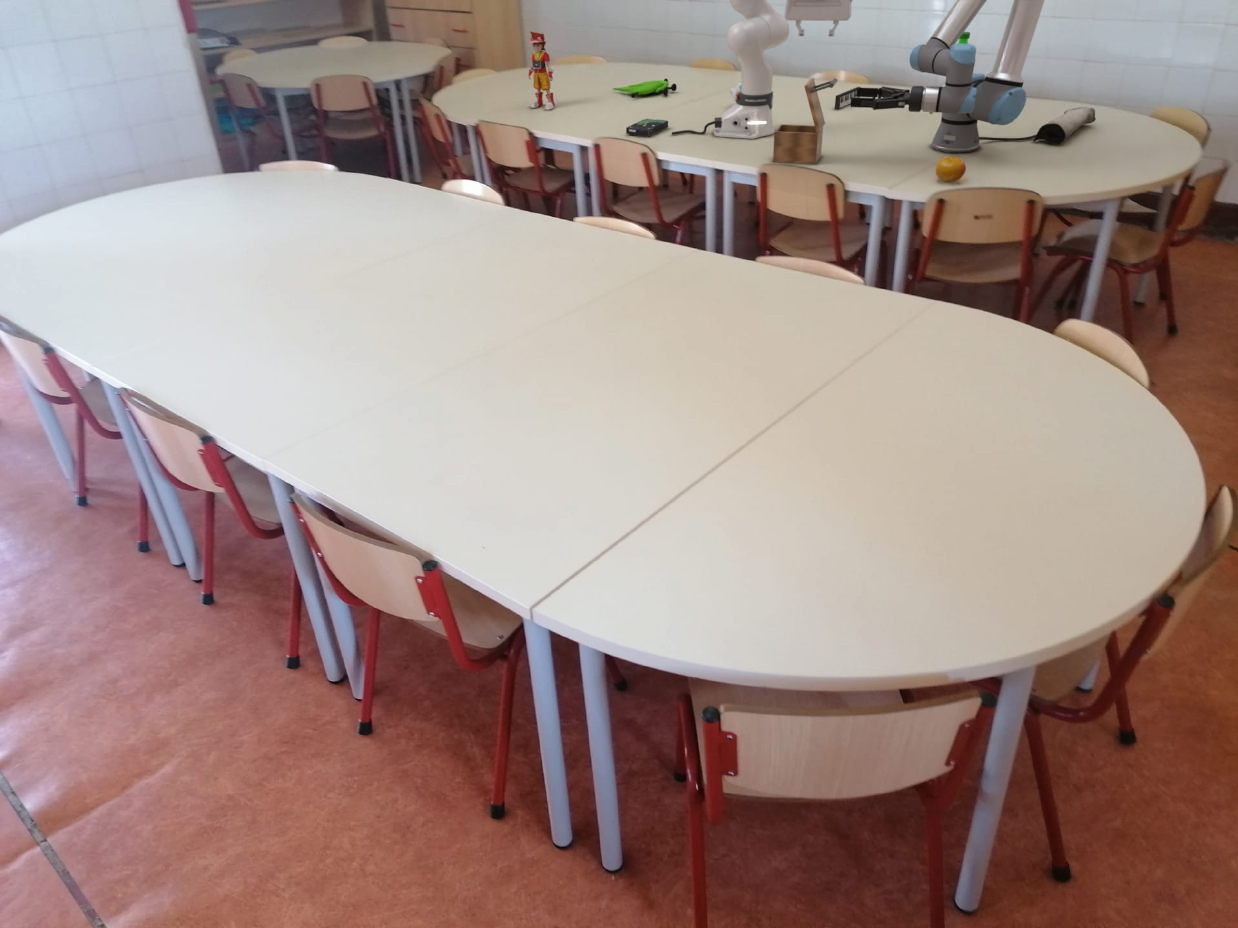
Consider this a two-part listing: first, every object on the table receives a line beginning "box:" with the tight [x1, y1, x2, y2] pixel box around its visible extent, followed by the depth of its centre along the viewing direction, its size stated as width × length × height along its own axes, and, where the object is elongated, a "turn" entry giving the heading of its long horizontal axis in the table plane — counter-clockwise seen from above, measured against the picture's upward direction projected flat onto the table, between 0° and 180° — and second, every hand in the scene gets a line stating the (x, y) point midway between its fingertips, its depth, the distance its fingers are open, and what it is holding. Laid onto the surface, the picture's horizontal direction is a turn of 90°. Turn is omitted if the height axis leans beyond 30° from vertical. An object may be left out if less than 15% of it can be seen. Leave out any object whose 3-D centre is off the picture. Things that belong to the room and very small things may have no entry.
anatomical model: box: [729, 81, 742, 102], centre depth 363 cm, size 15×10×10 cm
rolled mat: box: [1032, 106, 1097, 146], centre depth 310 cm, size 30×9×10 cm
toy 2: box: [612, 78, 677, 99], centre depth 396 cm, size 28×5×30 cm
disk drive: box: [625, 118, 669, 137], centre depth 342 cm, size 10×3×15 cm
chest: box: [772, 123, 824, 165], centre depth 301 cm, size 14×10×10 cm, turn 69°
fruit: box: [935, 155, 967, 183], centre depth 275 cm, size 8×8×8 cm
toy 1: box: [527, 31, 556, 111], centre depth 374 cm, size 12×9×30 cm
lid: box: [804, 77, 838, 132], centre depth 291 cm, size 15×10×9 cm
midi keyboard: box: [834, 86, 862, 110], centre depth 359 cm, size 18×1×5 cm, turn 138°
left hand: (816, 36), depth 281 cm, fingers open, 8 cm apart
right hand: (854, 97), depth 287 cm, fingers open, 13 cm apart
